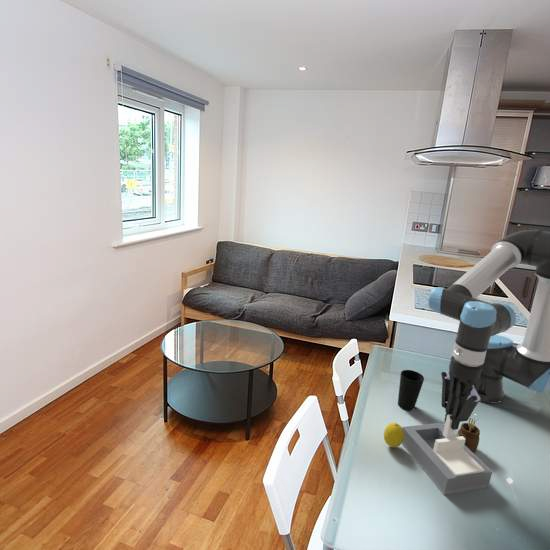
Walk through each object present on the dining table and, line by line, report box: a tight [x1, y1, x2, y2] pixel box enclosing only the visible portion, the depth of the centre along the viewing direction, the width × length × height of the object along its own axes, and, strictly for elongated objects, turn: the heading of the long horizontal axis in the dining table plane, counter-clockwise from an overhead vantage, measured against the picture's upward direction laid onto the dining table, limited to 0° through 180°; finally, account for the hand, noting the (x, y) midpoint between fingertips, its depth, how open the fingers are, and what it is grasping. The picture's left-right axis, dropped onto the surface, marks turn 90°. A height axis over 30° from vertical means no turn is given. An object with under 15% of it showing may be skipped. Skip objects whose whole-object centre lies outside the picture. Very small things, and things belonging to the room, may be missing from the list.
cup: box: [397, 369, 425, 412], centre depth 133 cm, size 8×8×12 cm
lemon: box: [383, 422, 404, 448], centre depth 112 cm, size 6×6×8 cm
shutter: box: [433, 436, 485, 476], centre depth 102 cm, size 9×9×4 cm
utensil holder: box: [456, 412, 481, 454], centre depth 114 cm, size 6×6×12 cm
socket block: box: [401, 422, 493, 496], centre depth 108 cm, size 14×20×5 cm
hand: (448, 435), depth 106 cm, fingers closed
